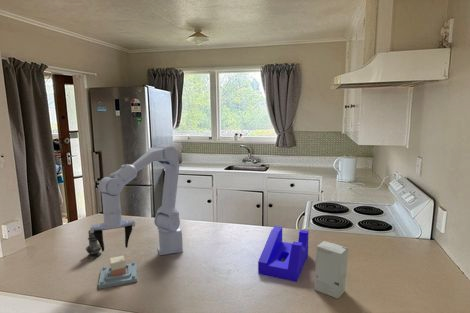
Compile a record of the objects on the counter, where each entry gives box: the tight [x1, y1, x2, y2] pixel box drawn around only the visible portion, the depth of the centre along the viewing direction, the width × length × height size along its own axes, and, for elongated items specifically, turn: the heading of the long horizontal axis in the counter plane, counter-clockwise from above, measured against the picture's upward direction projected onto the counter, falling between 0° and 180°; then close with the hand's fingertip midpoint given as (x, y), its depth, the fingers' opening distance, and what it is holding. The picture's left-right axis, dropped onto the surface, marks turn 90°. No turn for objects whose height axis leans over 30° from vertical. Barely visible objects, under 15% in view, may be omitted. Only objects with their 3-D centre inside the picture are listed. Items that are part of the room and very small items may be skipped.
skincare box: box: [313, 240, 349, 299], centre depth 96 cm, size 8×6×15 cm
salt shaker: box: [85, 229, 102, 259], centre depth 123 cm, size 6×6×12 cm
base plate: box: [97, 261, 138, 289], centre depth 108 cm, size 12×12×2 cm
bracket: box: [257, 225, 309, 283], centre depth 114 cm, size 21×14×10 cm, turn 157°
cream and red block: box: [109, 255, 126, 277], centre depth 107 cm, size 4×4×5 cm
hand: (114, 248), depth 108 cm, fingers open, 7 cm apart
